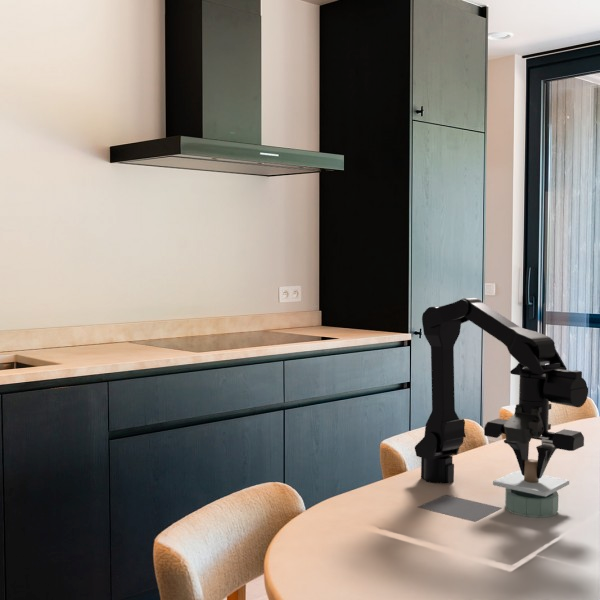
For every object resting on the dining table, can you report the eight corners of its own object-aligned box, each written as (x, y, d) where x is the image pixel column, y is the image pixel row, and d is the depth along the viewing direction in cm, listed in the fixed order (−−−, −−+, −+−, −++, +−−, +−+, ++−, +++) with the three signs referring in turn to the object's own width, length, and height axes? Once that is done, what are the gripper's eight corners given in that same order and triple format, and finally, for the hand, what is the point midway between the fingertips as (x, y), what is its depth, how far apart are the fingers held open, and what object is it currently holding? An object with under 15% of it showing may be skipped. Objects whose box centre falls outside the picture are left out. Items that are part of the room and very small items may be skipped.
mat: (417, 509, 165) (417, 506, 165) (445, 497, 173) (445, 494, 173) (474, 524, 156) (475, 521, 156) (502, 510, 165) (502, 507, 164)
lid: (492, 485, 163) (493, 461, 163) (518, 473, 172) (518, 451, 171) (545, 496, 156) (546, 471, 156) (569, 484, 164) (570, 460, 164)
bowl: (496, 512, 164) (496, 492, 163) (519, 500, 171) (519, 481, 171) (544, 523, 157) (544, 503, 157) (565, 511, 165) (566, 491, 164)
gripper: (471, 398, 163) (469, 476, 164) (562, 411, 151) (559, 495, 152) (498, 391, 171) (496, 465, 172) (586, 403, 159) (583, 482, 160)
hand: (531, 476), depth 164 cm, fingers closed on lid, 3 cm apart
